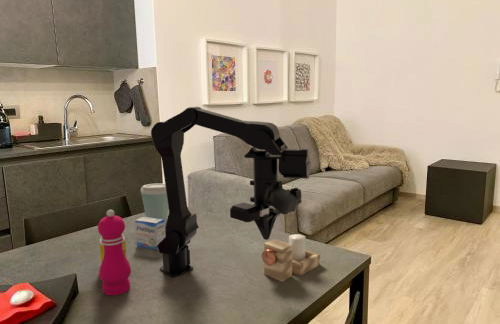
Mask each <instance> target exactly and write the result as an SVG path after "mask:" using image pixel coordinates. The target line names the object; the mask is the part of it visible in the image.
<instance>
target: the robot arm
mask: <svg viewBox="0 0 500 324" xmlns="http://www.w3.org/2000/svg"><path fill="white" fill-rule="evenodd" d="M194 126H199V127H202V128H206V129H209V130H213V131H216V132H219V133H223V134H226V135H229V136H233V137H235V138H238V139H240V140H241V141H243V143H245V144H246V145H248V146H251V148H249V151H247V152H246V153H245V155H244V158H246V159H252V160H253V161H252V163H253V166H252V167H253V179H252V180H249V185H250V186H253V196H251V197H250V199H249V200H250V202H251V203H253V204H251V203H246V202H240V203H237V204H233V205H231V207H230V209H229V216H230V218H231V219H234V220H238V221H240V222H244V223H251V222H254V223H255V225H256V227H257V228H258V230H259V232H260V234H261V237H262V238H263V240H266V241H267V240H268V241H269V239H270V237H271V234H272V230H273V228H274V225H275V223H276V220H277V218H278V217H279V216H280V215H288V214H289V213H291V212H295V211H296V209H297V206H299V205H300V204H302V190H301V189H300V188H299V187H294V188H292V189H285V188H283V181H282V180H279V179H278V176H279V175H278V172H279V174H280V175H281V176H282V177H283V178H284V179H286V178H287V179H288V178H289V179H306V180H309V179H310V176H311V161H310V154H309V151H310V150H309V149H308V148H297V149H296V148H293V149H292V148H289V147H288V146H287V145H286V143H285V142H284V140H283V139H282V138H281V136H280V135H281V133H280V130H279V128H278V126H277V125H275V124H274V123H273V122H269V121H254V120H253V121H252V120H251V121H250V120H242V119H239V118H235V117H233V116H228V115H225V114H221V113H217V112H214V111H211V110H207V109H205V108H202V107H199V106H190V107H187V108H185V109H184V110H183V111H181V112H180V113H178V114H176V115H173V116H172V117H170V118H168V119H167V120H164V121H159V122H156V123H154V125H153V126H152V127H151V130H150V135H151V139H152V143H153V147H154V148H155V150H156V152H157V153H158V154H159V157H160V158H161V164H162V170H163V177H164V178H163V179H164V184H165V186H166V193H167V201H168V208H169V209H168V217H167V222H166V225H165V238H164V239H163V240H162V241H161V242H160V243H159V244H158V245H157V247H158V250H157V251H158V252H159V254H161V255H162V256H161V257H162V266H160V268H159V270H161V272H164V273H165V274H167V275H169V276H171V277H176V276H179V275H181V274H184V273H186V272H189V271H191V270H193V269H194V267H193V266H192V265H191V251H190V249H189V245H188V244H190V243H191V241H192V239H193V238H194V237H195V236H196V234H197V231H198V230H197V229H199V225H198V221H197V220H198V216H197V213H192V212H191V211H190V210H189V207H188V201H187V194H186V187H185V180H184V178H185V177H184V172H183V163H182V157H181V156H182V150H183V147H184V142H185V133H187V132H188V131H190V130H191V129H192V128H193V127H194Z"/></svg>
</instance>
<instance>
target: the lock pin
mask: <svg viewBox="0 0 500 324" xmlns="http://www.w3.org/2000/svg"><path fill="white" fill-rule="evenodd" d="M261 259H262V262H263V263H265V264H266V265H267V266H272V265H274V264H275V263H276V260H277V252H275V251H272V250H271V249H267V250H265V251H264V250H263V251H262V253H261Z"/></svg>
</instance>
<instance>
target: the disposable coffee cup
mask: <svg viewBox="0 0 500 324" xmlns="http://www.w3.org/2000/svg"><path fill="white" fill-rule="evenodd" d="M140 195H141V198H142V204H143V209H144V213H145V214H144V215H145V217H149V218H157V219H164V220H165V226H166V222H167V218H168V215H169V208H168V201H167V193H166V186H165V183H148V184H144V185H142V186H141V188H140Z"/></svg>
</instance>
